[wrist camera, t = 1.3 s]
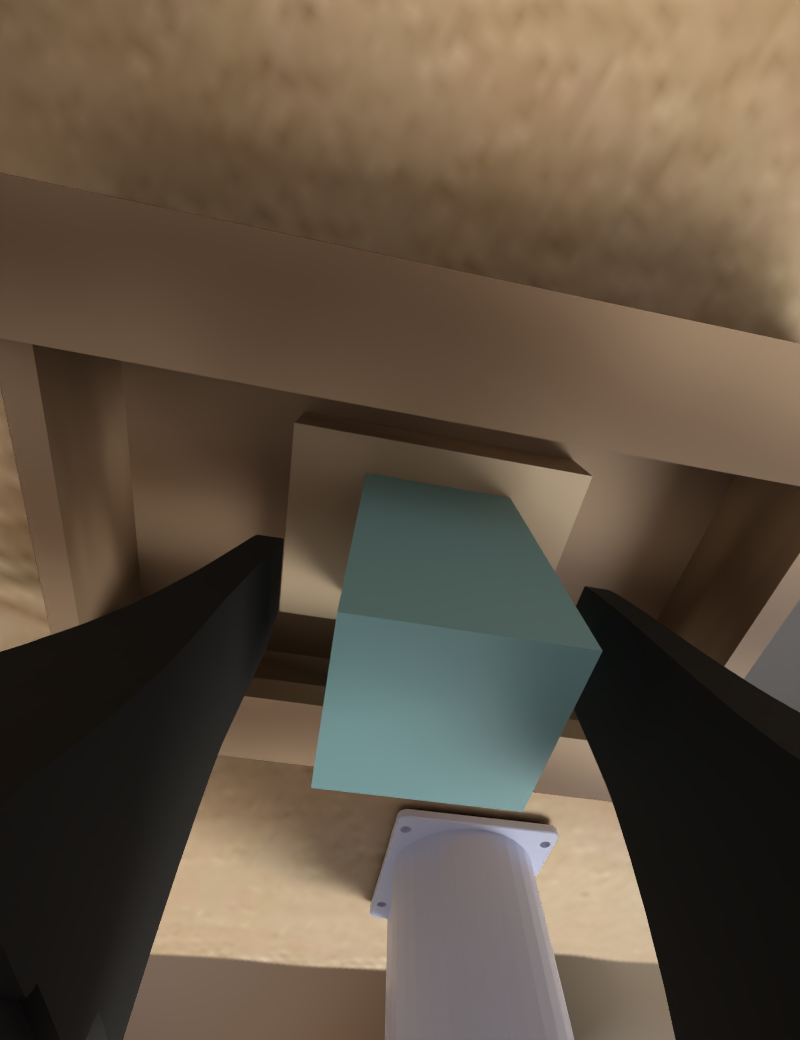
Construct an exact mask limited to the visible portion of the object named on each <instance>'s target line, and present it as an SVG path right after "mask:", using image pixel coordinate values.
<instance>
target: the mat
mask: <svg viewBox="0 0 800 1040" xmlns="http://www.w3.org/2000/svg"><path fill="white" fill-rule="evenodd" d="M744 680H746V681H747V682H749V683H751V684H752V685H754V686H755V687H757V688H759V689H760V690H762V691H764V692H765V693H767V694H768V695H770V696H772V697H774V698H775V699H777V700H779V701H781V702H782V703H784V704H786V705H787V706H789V707H791V708H793V709H794V710H796V711H798V712H800V600H799V601H798V602H797V604H796V605H795V607H794V608H793V610H792V611H791V612H790V614H789V615H788V617H787V618H786V620H785V621H784V622H783V624H782V625H781V627H780V628H779V630H778V631H777V632H776V634H775V635H774V637H773V638H772V640H771V641H770V642H769V644H768V645H767V647H766V648H765V649H764V651H763V652H762V654H761V655H760V657H759V658H758V659H757V661H756V662H755V664H754V665H753V667H752V668H751V669H750V671H749V672H748V674H747V675H746V677H745V678H744Z"/></svg>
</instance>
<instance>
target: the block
mask: <svg viewBox="0 0 800 1040" xmlns="http://www.w3.org/2000/svg"><path fill="white" fill-rule="evenodd" d="M601 653H602V649H601V647H600V646H599V644H598V642H597V641H596V639H595V638H594V636H593V634H592V633H591V631H590V629H589V628H588V626H587V624H586V623H585V621H584V619H583V618H582V616H581V614H580V613H579V611H578V609H577V608H576V606H575V604H574V603H573V601H572V599H571V598H570V596H569V594H568V593H567V591H566V589H565V588H564V586H563V584H562V583H561V581H560V579H559V578H558V576H557V575H556V573H555V571H554V570H553V568H552V566H551V565H550V563H549V561H548V560H547V558H546V556H545V555H544V553H543V551H542V550H541V548H540V546H539V545H538V543H537V541H536V540H535V538H534V536H533V535H532V533H531V531H530V530H529V528H528V526H527V525H526V523H525V521H524V520H523V518H522V516H521V515H520V513H519V511H518V510H517V508H516V507H515V505H514V503H513V502H512V500H511V498H509V497H503V496H497V495H491V494H486V493H480V492H474V491H468V490H462V489H457V488H451V487H445V486H439V485H434V484H428V483H422V482H416V481H410V480H405V479H399V478H393V477H387V476H381V475H376V474H370V473H366V476H365V481H364V486H363V491H362V496H361V500H360V505H359V510H358V515H357V520H356V524H355V529H354V534H353V539H352V544H351V548H350V553H349V558H348V563H347V567H346V572H345V577H344V582H343V587H342V591H341V596H340V601H339V606H338V611H337V617H336V623H335V630H334V637H333V644H332V650H331V657H330V664H329V670H328V677H327V684H326V690H325V697H324V704H323V710H322V717H321V724H320V730H319V737H318V744H317V750H316V757H315V764H314V770H313V777H312V784H311V788H316V789H325V790H333V791H342V792H351V793H360V794H368V795H377V796H386V797H395V798H404V799H412V800H421V801H430V802H439V803H447V804H456V805H465V806H474V807H482V808H491V809H500V810H509V811H517V812H523V810H524V808H525V806H526V804H527V802H528V800H529V798H530V796H531V794H532V792H533V790H534V788H535V786H536V784H537V782H538V780H539V778H540V776H541V774H542V772H543V770H544V768H545V766H546V764H547V762H548V760H549V758H550V756H551V754H552V752H553V750H554V748H555V746H556V744H557V742H558V740H559V738H560V736H561V734H562V732H563V730H564V728H565V726H566V724H567V722H568V720H569V718H570V716H571V713H572V711H573V709H574V707H575V705H576V703H577V701H578V699H579V697H580V695H581V693H582V691H583V689H584V687H585V685H586V683H587V681H588V679H589V677H590V675H591V673H592V671H593V669H594V667H595V665H596V663H597V661H598V659H599V657H600V655H601Z"/></svg>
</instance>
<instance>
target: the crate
mask: <svg viewBox="0 0 800 1040" xmlns="http://www.w3.org/2000/svg"><path fill="white" fill-rule="evenodd" d="M0 386H1V391H2V396H3V401H4V406H5V411H6V416H7V421H8V426H9V430H10V435H11V440H12V445H13V450H14V455H15V460H16V465H17V470H18V475H19V479H20V484H21V489H22V494H23V499H24V504H25V509H26V514H27V519H28V524H29V528H30V533H31V538H32V543H33V548H34V553H35V558H36V563H37V568H38V573H39V577H40V582H41V587H42V592H43V597H44V602H45V607H46V612H47V617H48V622H49V626H50V631H51V635H53V634H55V633H58V632H61V631H64V630H67V629H70V628H72V627H75V626H78V625H81V624H84V623H87V622H89V621H92V620H94V619H97V618H99V617H102V616H104V615H107V614H109V613H111V612H114V611H116V610H118V609H121V608H123V607H126V606H128V605H130V604H132V603H134V602H137V601H139V600H141V599H143V598H145V597H147V596H149V595H152V594H154V593H156V592H157V591H159V590H161V589H163V588H165V587H167V586H169V585H171V584H173V583H174V582H176V581H178V580H180V579H182V578H184V577H186V576H188V575H190V574H192V573H193V572H195V571H197V570H199V569H200V568H202V567H204V566H205V565H207V564H209V563H210V562H212V561H214V560H215V559H217V558H219V557H221V556H222V555H224V554H225V553H227V552H229V551H230V550H232V549H234V548H235V547H237V546H238V545H240V544H242V543H243V542H245V541H246V540H248V539H250V538H251V537H253V536H255V535H257V534H258V535H264V536H270V537H277V538H283V539H284V543H283V556H282V569H281V582H280V595H279V608H278V613H277V617H276V620H275V623H274V626H273V630H272V633H271V636H270V639H269V642H268V645H267V648H266V650H265V653H264V655H263V657H262V659H261V661H260V663H259V666H258V668H257V670H256V672H255V674H254V677H253V679H252V681H251V683H250V685H249V687H248V689H247V692H246V694H245V696H244V698H243V700H242V702H241V704H240V707H239V709H238V711H237V713H236V715H235V717H234V719H233V722H232V724H231V726H230V728H229V730H228V732H227V734H226V737H225V739H224V741H223V744H222V746H221V748H220V751H219V753H218V755H221V756H229V757H238V758H246V759H255V760H263V761H271V762H280V763H288V764H297V765H305V766H314V764H315V757H316V750H317V744H318V737H319V730H320V724H321V717H322V710H323V704H324V697H325V690H326V684H327V677H328V670H329V664H330V657H331V650H332V644H333V637H334V630H335V623H336V617H337V611H338V606H339V601H340V596H341V591H342V587H343V582H344V577H345V572H346V567H347V563H348V558H349V553H350V548H351V544H352V539H353V534H354V529H355V524H356V520H357V515H358V510H359V505H360V500H361V496H362V491H363V486H364V481H365V476H366V473H370V474H376V475H381V476H387V477H393V478H399V479H405V480H410V481H416V482H422V483H428V484H434V485H439V486H445V487H451V488H457V489H462V490H468V491H474V492H480V493H486V494H491V495H497V496H503V497H509V498H511V500H512V502H513V503H514V505H515V507H516V508H517V510H518V511H519V513H520V515H521V516H522V518H523V520H524V521H525V523H526V525H527V526H528V528H529V530H530V531H531V533H532V535H533V536H534V538H535V540H536V541H537V543H538V545H539V546H540V548H541V550H542V551H543V553H544V555H545V556H546V558H547V560H548V561H549V563H550V565H551V566H552V568H553V570H554V571H555V573H556V575H557V576H558V578H559V579H560V581H561V583H562V584H563V586H564V588H565V589H566V591H567V593H568V594H569V596H570V598H571V599H572V601H573V603H574V604H575V606H576V605H577V602H578V600H579V598H580V596H581V593H582V591H583V589H584V587H585V586H587V587H594V588H600V589H606V590H610V591H612V592H614V593H616V594H617V595H619V596H621V597H622V598H624V599H626V600H627V601H629V602H630V603H632V604H633V605H635V606H636V607H638V608H639V609H641V610H642V611H644V612H645V613H647V614H648V615H650V616H651V617H653V618H654V619H655V620H657V621H658V622H660V623H661V624H663V625H664V626H665V627H667V628H668V629H670V630H671V631H673V632H674V633H675V634H677V635H678V636H680V637H681V638H683V639H684V640H686V641H687V642H688V643H690V644H691V645H693V646H694V647H696V648H697V649H699V650H700V651H702V652H703V653H705V654H706V655H707V656H709V657H710V658H712V659H713V660H715V661H716V662H718V663H719V664H721V665H723V666H724V667H726V668H727V669H729V670H730V671H732V672H733V673H735V674H737V675H738V676H740V677H741V678H743V679H744V678H745V677H746V675H747V674H748V672H749V671H750V669H751V668H752V667H753V665H754V664H755V662H756V661H757V659H758V658H759V657H760V655H761V654H762V652H763V651H764V649H765V648H766V647H767V645H768V644H769V642H770V641H771V640H772V638H773V637H774V635H775V634H776V632H777V631H778V630H779V628H780V627H781V625H782V624H783V622H784V621H785V620H786V618H787V617H788V615H789V614H790V612H791V611H792V610H793V608H794V607H795V605H796V604H797V602H798V601H799V600H800V344H799V343H795V342H790V341H785V340H781V339H776V338H771V337H767V336H762V335H757V334H753V333H748V332H743V331H739V330H734V329H729V328H725V327H720V326H715V325H711V324H706V323H701V322H696V321H692V320H687V319H682V318H678V317H673V316H668V315H664V314H659V313H654V312H650V311H645V310H640V309H636V308H631V307H626V306H622V305H617V304H612V303H608V302H603V301H598V300H594V299H589V298H584V297H579V296H575V295H570V294H565V293H561V292H556V291H551V290H547V289H542V288H537V287H533V286H528V285H523V284H519V283H514V282H509V281H505V280H500V279H495V278H491V277H486V276H481V275H477V274H472V273H467V272H462V271H458V270H453V269H448V268H444V267H439V266H434V265H430V264H425V263H420V262H416V261H411V260H406V259H402V258H397V257H392V256H388V255H383V254H378V253H374V252H369V251H364V250H360V249H355V248H350V247H345V246H341V245H336V244H331V243H327V242H322V241H317V240H313V239H308V238H303V237H299V236H294V235H289V234H285V233H280V232H275V231H271V230H266V229H261V228H257V227H252V226H247V225H243V224H238V223H233V222H228V221H224V220H219V219H214V218H210V217H205V216H200V215H196V214H191V213H186V212H182V211H177V210H172V209H168V208H163V207H158V206H154V205H149V204H144V203H140V202H135V201H130V200H125V199H121V198H116V197H111V196H107V195H102V194H97V193H93V192H88V191H83V190H79V189H74V188H69V187H65V186H60V185H55V184H51V183H46V182H41V181H37V180H32V179H27V178H23V177H18V176H13V175H8V174H4V173H0ZM533 792H534V793H543V794H551V795H560V796H568V797H577V798H585V799H593V800H602V801H610V802H612V800H611V797H610V794H609V792H608V789H607V786H606V784H605V781H604V779H603V777H602V774H601V772H600V770H599V767H598V765H597V763H596V760H595V758H594V755H593V753H592V751H591V748H590V746H589V744H588V741H587V739H586V737H585V734H584V732H583V730H582V727H581V725H580V722H579V720H578V718H577V715H576V713H575V710H574V709H573V711H572V713H571V716H570V718H569V720H568V722H567V724H566V726H565V728H564V730H563V732H562V734H561V736H560V738H559V740H558V742H557V744H556V746H555V748H554V750H553V752H552V754H551V756H550V758H549V760H548V762H547V764H546V766H545V768H544V770H543V772H542V774H541V776H540V778H539V780H538V782H537V784H536V786H535V788H534V790H533Z"/></svg>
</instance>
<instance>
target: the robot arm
mask: <svg viewBox="0 0 800 1040" xmlns="http://www.w3.org/2000/svg"><path fill="white" fill-rule="evenodd" d="M283 543H284V539H283V538H277V537H270V536H264V535H258V534H257V535H255V536H253V537H251V538H250V539H248V540H246V541H245V542H243V543H242V544H240V545H238V546H237V547H235V548H234V549H232V550H230V551H229V552H227V553H225V554H224V555H222V556H221V557H219V558H217V559H215V560H214V561H212V562H210V563H209V564H207V565H205V566H204V567H202V568H200V569H199V570H197V571H195V572H193V573H192V574H190V575H188V576H186V577H184V578H182V579H180V580H178V581H176V582H174V583H173V584H171V585H169V586H167V587H165V588H163V589H161V590H159V591H157V592H156V593H154V594H152V595H149V596H147V597H145V598H143V599H141V600H139V601H137V602H134V603H132V604H130V605H128V606H126V607H123V608H121V609H118V610H116V611H114V612H111V613H109V614H107V615H104V616H102V617H99V618H97V619H94V620H92V621H89V622H87V623H84V624H81V625H78V626H75V627H72V628H70V629H67V630H64V631H61V632H58V633H55V634H53V635H50V636H47V637H44V638H41V639H38V640H36V641H33V642H30V643H27V644H24V645H21V646H18V647H15V648H11V649H8V650H5V651H1V652H0V1040H123V1038H124V1034H125V1031H126V1028H127V1025H128V1022H129V1018H130V1015H131V1012H132V1009H133V1005H134V1002H135V999H136V996H137V993H138V990H139V986H140V983H141V980H142V977H143V974H144V971H145V967H146V964H147V961H148V958H149V955H150V952H151V948H152V945H153V942H154V939H155V936H156V933H157V930H158V927H159V924H160V921H161V918H162V915H163V912H164V909H165V906H166V903H167V900H168V897H169V893H170V890H171V887H172V884H173V881H174V878H175V875H176V872H177V869H178V866H179V863H180V860H181V858H182V855H183V852H184V849H185V846H186V843H187V840H188V837H189V834H190V831H191V828H192V825H193V822H194V820H195V817H196V814H197V811H198V808H199V805H200V802H201V800H202V797H203V794H204V791H205V788H206V786H207V783H208V780H209V777H210V774H211V772H212V769H213V766H214V763H215V760H216V758H217V756H218V753H219V751H220V748H221V746H222V744H223V741H224V739H225V737H226V734H227V732H228V730H229V728H230V726H231V724H232V722H233V719H234V717H235V715H236V713H237V711H238V709H239V707H240V704H241V702H242V700H243V698H244V696H245V694H246V692H247V689H248V687H249V685H250V683H251V681H252V679H253V677H254V674H255V672H256V670H257V668H258V666H259V663H260V661H261V659H262V657H263V655H264V653H265V650H266V648H267V645H268V642H269V639H270V636H271V633H272V630H273V626H274V623H275V620H276V617H277V613H278V608H279V595H280V582H281V569H282V556H283ZM576 608H577V609H578V611H579V613H580V614H581V616H582V618H583V619H584V621H585V623H586V624H587V626H588V628H589V629H590V631H591V633H592V634H593V636H594V638H595V639H596V641H597V642H598V644H599V646H600V647H601V649H602V653H601V655H600V657H599V659H598V661H597V663H596V665H595V667H594V669H593V671H592V673H591V675H590V677H589V679H588V681H587V683H586V685H585V687H584V689H583V691H582V693H581V695H580V697H579V699H578V701H577V703H576V705H575V707H574V710H575V713H576V715H577V718H578V720H579V722H580V725H581V727H582V730H583V732H584V734H585V737H586V739H587V741H588V744H589V746H590V748H591V751H592V753H593V755H594V758H595V760H596V763H597V765H598V767H599V770H600V772H601V774H602V777H603V779H604V781H605V784H606V786H607V789H608V792H609V794H610V797H611V800H612V802H613V805H614V808H615V811H616V814H617V817H618V820H619V824H620V827H621V830H622V833H623V836H624V840H625V843H626V846H627V849H628V852H629V855H630V859H631V862H632V866H633V869H634V873H635V876H636V880H637V884H638V887H639V891H640V894H641V898H642V901H643V905H644V908H645V912H646V915H647V919H648V923H649V928H650V932H651V936H652V940H653V944H654V948H655V952H656V956H657V960H658V964H659V968H660V971H661V975H662V980H663V984H664V987H665V993H666V997H667V1002H668V1006H669V1011H670V1016H671V1020H672V1025H673V1030H674V1034H675V1039H676V1040H800V712H798V711H796V710H794V709H793V708H791V707H789V706H787V705H786V704H784V703H782V702H781V701H779V700H777V699H775V698H774V697H772V696H770V695H768V694H767V693H765V692H764V691H762V690H760V689H759V688H757V687H755V686H754V685H752V684H751V683H749V682H747V681H746V680H744V679H743V678H741V677H740V676H738V675H737V674H735V673H733V672H732V671H730V670H729V669H727V668H726V667H724V666H723V665H721V664H719V663H718V662H716V661H715V660H713V659H712V658H710V657H709V656H707V655H706V654H705V653H703V652H702V651H700V650H699V649H697V648H696V647H694V646H693V645H691V644H690V643H688V642H687V641H686V640H684V639H683V638H681V637H680V636H678V635H677V634H675V633H674V632H673V631H671V630H670V629H668V628H667V627H665V626H664V625H663V624H661V623H660V622H658V621H657V620H655V619H654V618H653V617H651V616H650V615H648V614H647V613H645V612H644V611H642V610H641V609H639V608H638V607H636V606H635V605H633V604H632V603H630V602H629V601H627V600H626V599H624V598H622V597H621V596H619V595H617V594H616V593H614V592H612V591H610V590H606V589H600V588H594V587H587V586H585V587H584V589H583V591H582V593H581V596H580V598H579V600H578V602H577V605H576ZM557 840H558V833H557V830H556V828H555V827H554V826H552V825H547V824H539V823H530V822H521V821H512V820H503V819H494V818H485V817H476V816H467V815H458V814H449V813H441V812H432V811H423V810H414V809H404V810H401V811H400V812H399V813H398V814H397V817H396V820H395V824H394V827H393V831H392V834H391V837H390V841H389V844H388V847H387V851H386V854H385V858H384V861H383V864H382V868H381V871H380V875H379V878H378V881H377V885H376V888H375V891H374V895H373V898H372V902H371V905H370V914H371V915H372V916H373V917H376V918H384V919H388V922H387V971H386V973H387V974H386V1022H385V1040H574V1036H573V1032H572V1029H571V1024H570V1020H569V1016H568V1011H567V1008H566V1004H565V999H564V995H563V991H562V986H561V982H560V978H559V974H558V970H557V966H556V962H555V958H554V953H553V949H552V945H551V941H550V937H549V932H548V928H547V924H546V920H545V916H544V912H543V908H542V903H541V899H540V895H539V891H538V887H537V883H536V879H535V878H536V876H537V874H538V872H539V871H540V869H541V867H542V865H543V864H544V862H545V860H546V859H547V857H548V855H549V853H550V852H551V850H552V848H553V846H554V845H555V843H556V841H557Z"/></svg>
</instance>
